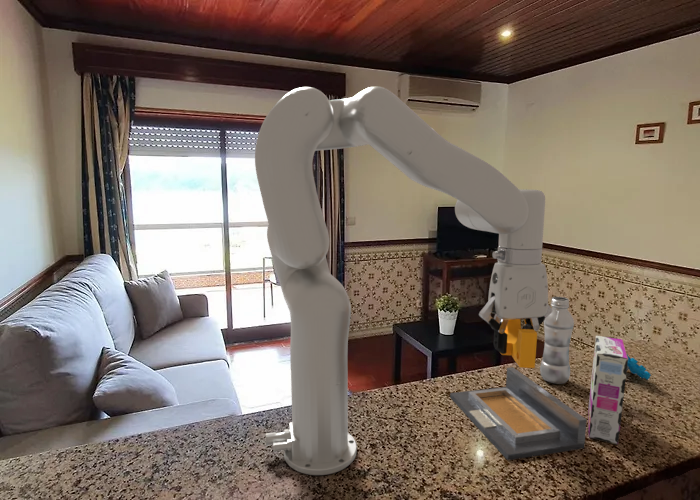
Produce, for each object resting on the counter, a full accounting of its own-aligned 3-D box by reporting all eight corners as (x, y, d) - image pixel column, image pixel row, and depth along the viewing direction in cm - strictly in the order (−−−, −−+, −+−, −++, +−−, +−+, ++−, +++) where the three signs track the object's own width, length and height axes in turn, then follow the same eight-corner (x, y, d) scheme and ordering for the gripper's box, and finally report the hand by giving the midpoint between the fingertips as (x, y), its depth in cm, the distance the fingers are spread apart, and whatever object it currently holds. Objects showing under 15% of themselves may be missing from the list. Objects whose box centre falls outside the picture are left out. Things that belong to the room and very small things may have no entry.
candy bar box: (620, 446, 76) (629, 358, 73) (588, 438, 78) (595, 353, 76) (616, 416, 85) (624, 338, 83) (587, 410, 88) (594, 334, 85)
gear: (662, 381, 97) (631, 350, 97) (644, 399, 97) (613, 369, 97) (628, 367, 108) (601, 339, 108) (612, 383, 108) (585, 356, 108)
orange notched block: (494, 342, 88) (495, 312, 87) (516, 343, 87) (518, 313, 86) (509, 367, 76) (511, 332, 75) (534, 368, 75) (537, 333, 75)
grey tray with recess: (507, 460, 72) (509, 430, 71) (450, 397, 93) (450, 373, 92) (584, 448, 75) (586, 419, 74) (511, 390, 96) (513, 367, 96)
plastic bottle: (536, 382, 100) (542, 299, 97) (542, 372, 106) (547, 293, 102) (566, 390, 96) (573, 304, 93) (571, 379, 102) (578, 297, 99)
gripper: (488, 262, 74) (483, 361, 77) (573, 258, 77) (566, 353, 80) (467, 255, 81) (463, 346, 84) (546, 251, 85) (540, 339, 87)
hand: (513, 348), depth 82 cm, fingers closed on orange notched block, 5 cm apart
